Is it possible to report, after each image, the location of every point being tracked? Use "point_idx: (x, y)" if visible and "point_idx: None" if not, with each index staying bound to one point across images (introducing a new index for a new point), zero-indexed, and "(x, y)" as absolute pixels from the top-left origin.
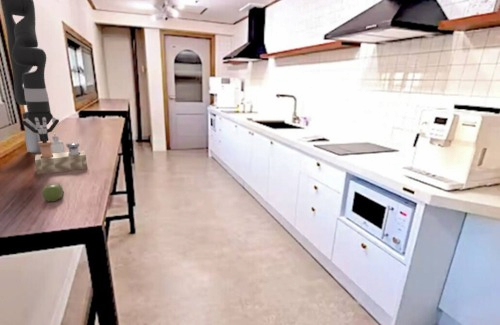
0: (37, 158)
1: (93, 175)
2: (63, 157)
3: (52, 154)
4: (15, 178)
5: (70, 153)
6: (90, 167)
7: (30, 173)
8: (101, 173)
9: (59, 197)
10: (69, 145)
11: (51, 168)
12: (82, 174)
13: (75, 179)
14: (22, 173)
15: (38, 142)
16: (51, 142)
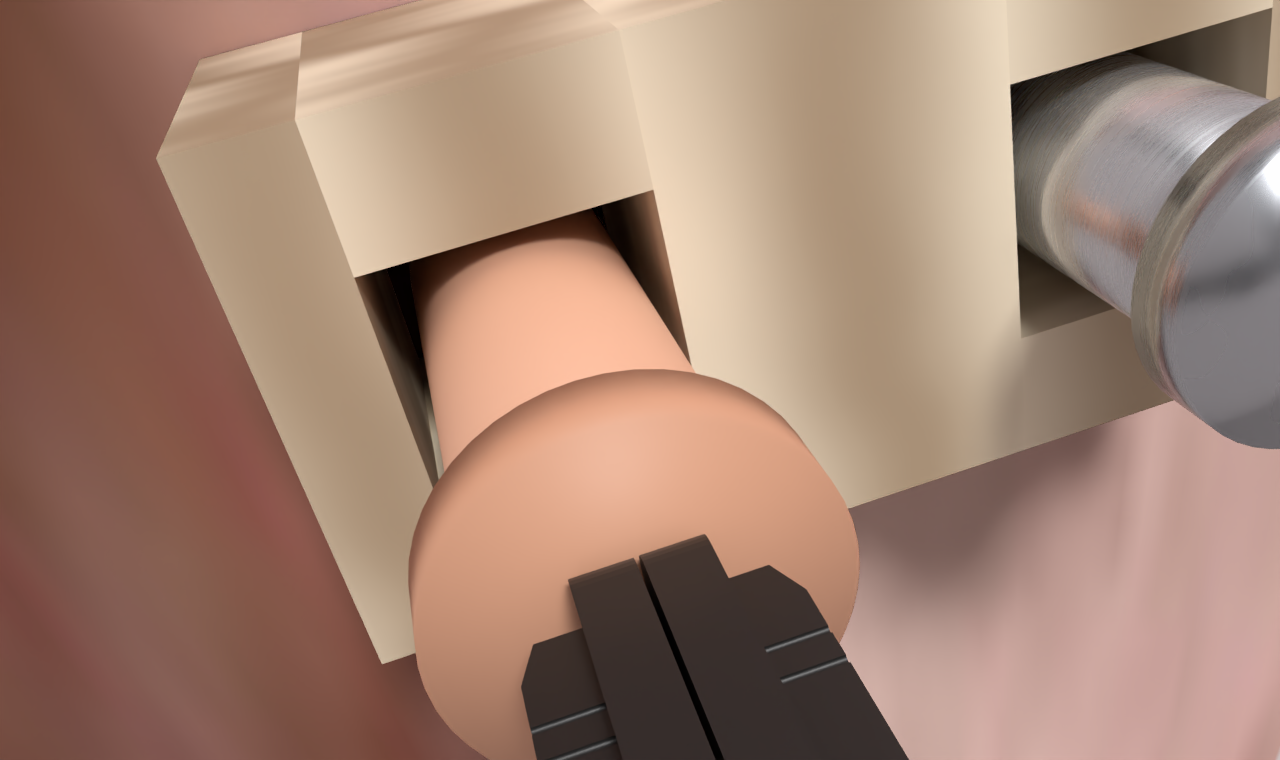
0: (380, 535)
1: (1161, 604)
2: (918, 483)
3: (633, 174)
4: (80, 644)
5: (1078, 283)
6: None
7: (207, 407)
8: (1262, 536)
9: None
10: (1241, 442)
11: None
12: (1039, 552)
13: (954, 727)
14: (35, 386)
15: (425, 622)
16: (854, 581)
